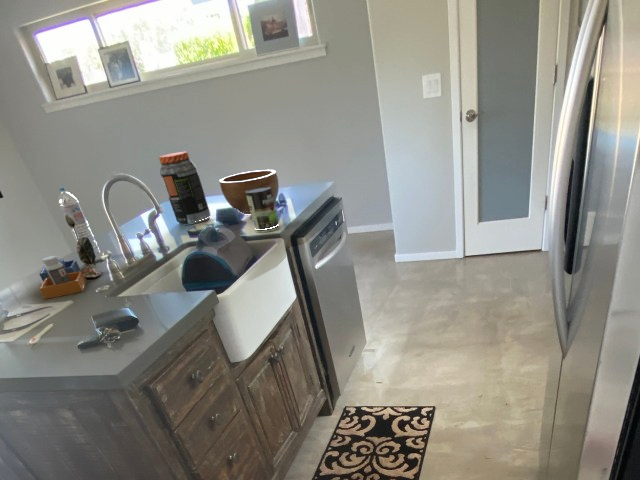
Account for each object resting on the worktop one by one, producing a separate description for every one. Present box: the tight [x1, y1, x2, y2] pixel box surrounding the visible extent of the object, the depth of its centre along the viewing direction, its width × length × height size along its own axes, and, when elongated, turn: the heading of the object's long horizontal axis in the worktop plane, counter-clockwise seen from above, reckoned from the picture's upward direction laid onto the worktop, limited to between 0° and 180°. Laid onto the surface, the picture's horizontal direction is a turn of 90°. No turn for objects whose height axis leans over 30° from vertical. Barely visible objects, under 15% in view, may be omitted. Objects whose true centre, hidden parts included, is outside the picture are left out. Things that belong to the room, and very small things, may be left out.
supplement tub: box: [158, 151, 211, 226], centre depth 230 cm, size 16×16×26 cm
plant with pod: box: [64, 215, 103, 278], centre depth 181 cm, size 8×11×20 cm
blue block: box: [59, 258, 67, 268], centre depth 190 cm, size 5×5×5 cm
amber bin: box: [38, 270, 87, 300], centre depth 176 cm, size 12×12×4 cm
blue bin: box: [38, 259, 81, 282], centre depth 190 cm, size 11×11×4 cm
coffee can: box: [245, 187, 280, 234], centre depth 206 cm, size 10×10×14 cm
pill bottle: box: [41, 255, 71, 285], centre depth 174 cm, size 6×6×10 cm
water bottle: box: [57, 186, 102, 263], centre depth 196 cm, size 7×7×25 cm
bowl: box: [219, 169, 280, 215], centre depth 228 cm, size 25×25×15 cm
